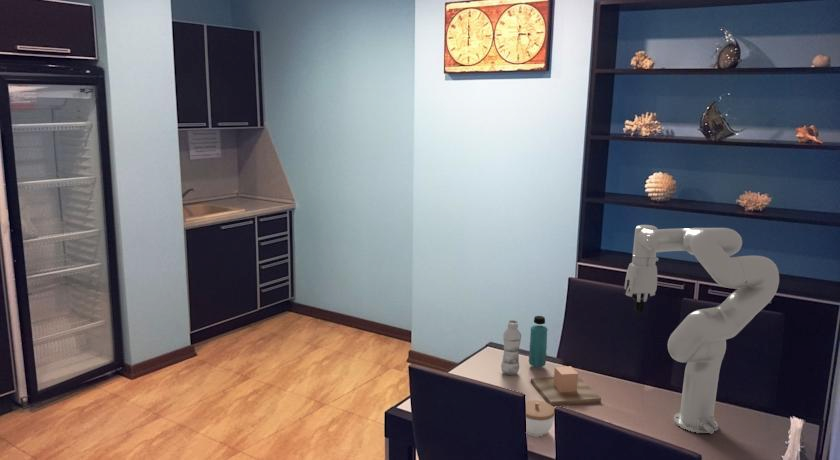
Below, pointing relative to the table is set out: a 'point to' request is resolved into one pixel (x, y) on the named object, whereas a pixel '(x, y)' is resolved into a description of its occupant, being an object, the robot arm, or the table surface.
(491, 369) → the table surface
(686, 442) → the table surface
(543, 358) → the beverage bottle
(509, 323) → the plastic bottle
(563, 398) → the post board
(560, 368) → the natural wood cube
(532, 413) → the lidded jar
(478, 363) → the table surface
